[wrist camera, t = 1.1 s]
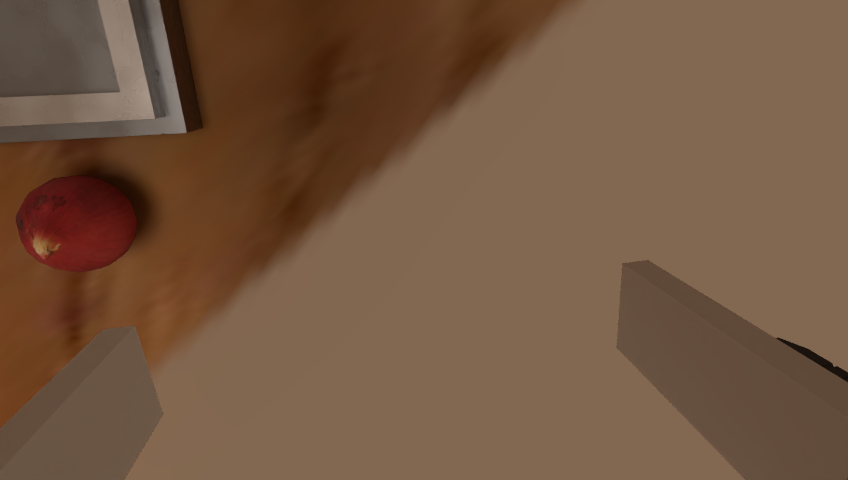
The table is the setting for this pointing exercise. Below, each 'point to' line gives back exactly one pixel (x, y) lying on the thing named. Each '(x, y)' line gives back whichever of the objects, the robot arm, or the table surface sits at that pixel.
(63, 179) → the onion
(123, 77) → the silver shallow square tray
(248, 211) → the table surface
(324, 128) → the table surface
